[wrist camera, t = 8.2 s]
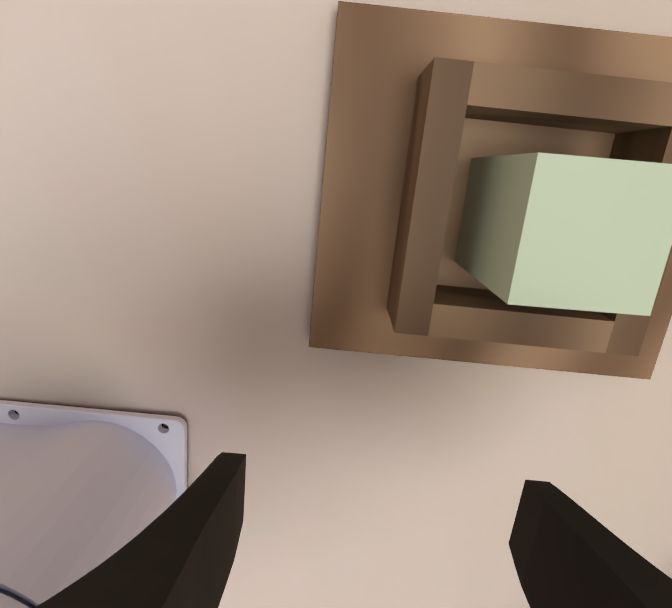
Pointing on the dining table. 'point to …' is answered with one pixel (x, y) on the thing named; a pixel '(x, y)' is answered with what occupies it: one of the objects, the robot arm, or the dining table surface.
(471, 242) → the block
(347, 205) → the well stand
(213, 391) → the dining table surface
